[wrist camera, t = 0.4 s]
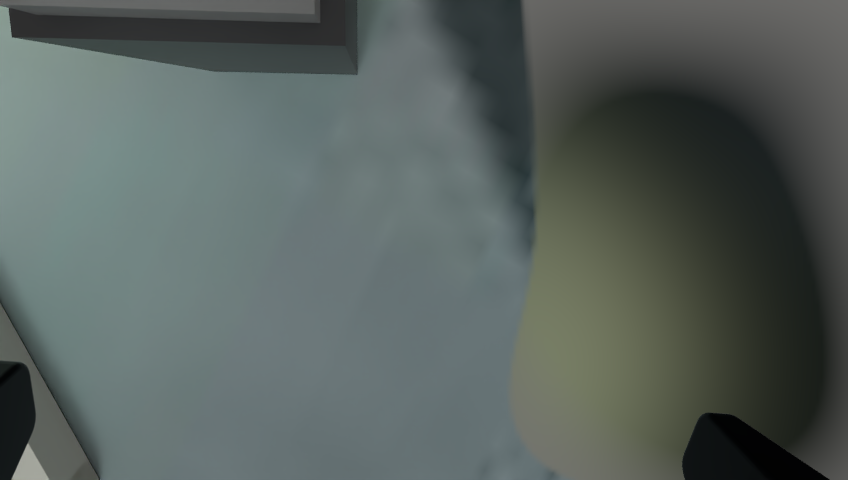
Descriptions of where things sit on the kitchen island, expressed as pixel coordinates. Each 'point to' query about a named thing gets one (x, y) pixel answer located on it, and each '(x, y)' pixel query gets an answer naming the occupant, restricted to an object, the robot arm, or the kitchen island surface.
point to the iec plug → (201, 32)
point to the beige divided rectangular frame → (44, 424)
